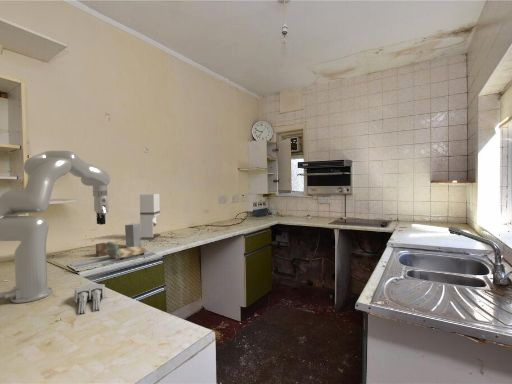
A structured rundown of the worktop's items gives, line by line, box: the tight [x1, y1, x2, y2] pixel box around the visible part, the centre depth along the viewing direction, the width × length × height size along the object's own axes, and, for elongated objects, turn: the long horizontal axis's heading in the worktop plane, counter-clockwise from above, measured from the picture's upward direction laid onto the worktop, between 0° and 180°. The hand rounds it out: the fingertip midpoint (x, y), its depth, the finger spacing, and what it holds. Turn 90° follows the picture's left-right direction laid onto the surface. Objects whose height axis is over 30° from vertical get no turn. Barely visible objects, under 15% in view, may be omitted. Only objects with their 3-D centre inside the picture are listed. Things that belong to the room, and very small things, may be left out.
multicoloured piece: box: [106, 241, 148, 260], centre depth 158 cm, size 18×12×9 cm
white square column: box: [139, 193, 161, 241], centre depth 208 cm, size 11×11×35 cm
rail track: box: [68, 250, 157, 269], centre depth 152 cm, size 42×16×1 cm, turn 140°
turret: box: [73, 283, 106, 315], centre depth 99 cm, size 10×20×5 cm, turn 30°
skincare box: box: [124, 223, 142, 248], centre depth 182 cm, size 8×7×16 cm
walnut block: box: [95, 242, 108, 258], centre depth 162 cm, size 5×5×7 cm
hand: (101, 223), depth 161 cm, fingers open, 3 cm apart
